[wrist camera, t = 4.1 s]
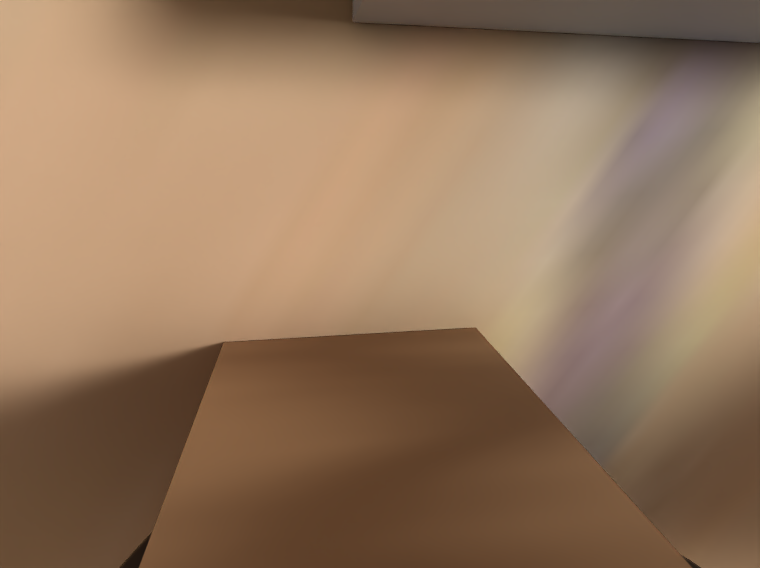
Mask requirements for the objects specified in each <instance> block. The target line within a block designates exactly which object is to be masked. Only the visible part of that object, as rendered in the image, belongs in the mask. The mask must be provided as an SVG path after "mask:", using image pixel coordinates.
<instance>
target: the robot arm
mask: <svg viewBox="0 0 760 568" xmlns="http://www.w3.org/2000/svg"><path fill="white" fill-rule="evenodd" d="M151 534H152V533H151ZM151 534H150V535H149V536H148V537H147V538H146V539H145V540H144V541H143V542H142V544H141V545H140V546H139V547H138V548H137V549H136V550H135V551H134V552H133V553H132V554H131V556H130V557H129V558H128V559H127V560H126V561H125V562H124V563H123V564H122V565H121V567H120V568H139V566H140V563H141V561H142V558H143V555H144V553H145V550H146V547H147V545H148V542H149V539H150V537H151ZM681 556H682V555H681ZM682 557H683V558H684V559H685V560H686V561H687V562H688V564H689V565H690V566H691V567H692V568H701V567H699V566H698V565H696V564H695V563H693V562H692V561H690V560H688V559H687V558H685V557H684V556H682Z"/></svg>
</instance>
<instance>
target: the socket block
mask: <svg viewBox="0 0 760 568" xmlns="http://www.w3.org/2000/svg"><path fill="white" fill-rule="evenodd" d="M353 22H360V23H380V24H399V25H419V26H439V27H458V28H478V29H497V30H517V31H537V32H556V33H576V34H596V35H615V36H635V37H654V38H674V39H694V40H713V41H733V42H753V43H760V0H353Z"/></svg>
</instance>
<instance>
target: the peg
mask: <svg viewBox="0 0 760 568" xmlns="http://www.w3.org/2000/svg"><path fill="white" fill-rule="evenodd" d="M139 568H692V567H691V566H690V565H689V564H688V562H687V561H686V560H685V559H684V558H683V557H682V556H681V555H680V554H679V553H678V551H677V550H676V549H675V548H674V547H673V546H672V545H671V544H670V543H669V541H668V540H667V539H666V538H665V537H664V536H663V535H662V534H661V533H660V531H659V530H658V529H657V528H656V527H655V526H654V525H653V524H652V523H651V521H650V520H649V519H648V518H647V517H646V516H645V515H644V514H643V513H642V511H641V510H640V509H639V508H638V507H637V506H636V505H635V504H634V503H633V502H632V500H631V499H630V498H629V497H628V496H627V495H626V494H625V493H624V492H623V490H622V489H621V488H620V487H619V486H618V485H617V484H616V483H615V482H614V480H613V479H612V478H611V477H610V476H609V475H608V474H607V473H606V472H605V470H604V469H603V468H602V467H601V466H600V465H599V464H598V463H597V462H596V460H595V459H594V458H593V457H592V456H591V455H590V454H589V453H588V452H587V451H586V449H585V448H584V447H583V446H582V445H581V444H580V443H579V442H578V441H577V439H576V438H575V437H574V436H573V435H572V434H571V433H570V432H569V431H568V429H567V428H566V427H565V426H564V425H563V424H562V423H561V422H560V421H559V419H558V418H557V417H556V416H555V415H554V414H553V413H552V412H551V411H550V410H549V408H548V407H547V406H546V405H545V404H544V403H543V402H542V401H541V400H540V398H539V397H538V396H537V395H536V394H535V393H534V392H533V391H532V390H531V388H530V387H529V386H528V385H527V384H526V383H525V382H524V381H523V380H522V378H521V377H520V376H519V375H518V374H517V373H516V372H515V371H514V370H513V368H512V367H511V366H510V365H509V364H508V363H507V362H506V361H505V360H504V359H503V357H502V356H501V355H500V354H499V353H498V352H497V351H496V350H495V349H494V347H493V346H492V345H491V344H490V343H489V342H488V341H487V340H486V339H485V337H484V336H483V335H482V334H481V333H480V332H479V331H478V330H477V329H476V328H462V329H445V330H428V331H411V332H393V333H376V334H359V335H342V336H325V337H307V338H290V339H273V340H256V341H238V342H224V343H223V345H222V348H221V351H220V353H219V356H218V359H217V361H216V364H215V367H214V369H213V372H212V375H211V377H210V380H209V383H208V385H207V388H206V391H205V393H204V396H203V398H202V401H201V404H200V406H199V409H198V412H197V414H196V417H195V420H194V422H193V425H192V428H191V430H190V433H189V436H188V438H187V441H186V444H185V446H184V449H183V452H182V454H181V457H180V460H179V462H178V465H177V468H176V470H175V473H174V476H173V478H172V481H171V484H170V486H169V489H168V492H167V494H166V497H165V500H164V502H163V505H162V508H161V510H160V513H159V516H158V518H157V521H156V523H155V526H154V529H153V531H152V534H151V537H150V539H149V542H148V545H147V547H146V550H145V553H144V555H143V558H142V561H141V563H140V566H139Z"/></svg>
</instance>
